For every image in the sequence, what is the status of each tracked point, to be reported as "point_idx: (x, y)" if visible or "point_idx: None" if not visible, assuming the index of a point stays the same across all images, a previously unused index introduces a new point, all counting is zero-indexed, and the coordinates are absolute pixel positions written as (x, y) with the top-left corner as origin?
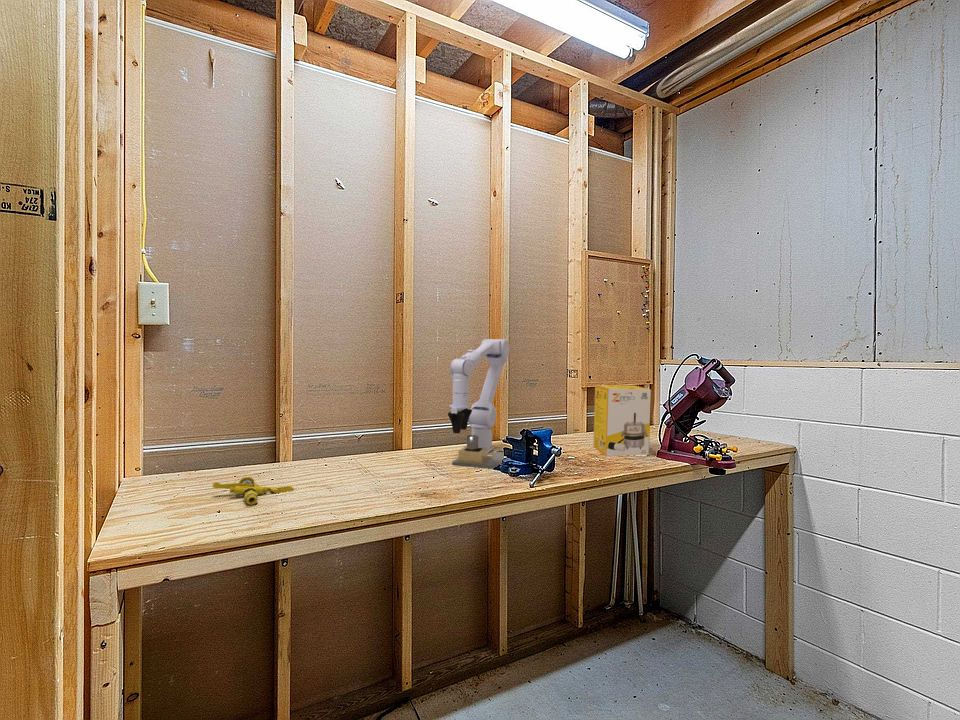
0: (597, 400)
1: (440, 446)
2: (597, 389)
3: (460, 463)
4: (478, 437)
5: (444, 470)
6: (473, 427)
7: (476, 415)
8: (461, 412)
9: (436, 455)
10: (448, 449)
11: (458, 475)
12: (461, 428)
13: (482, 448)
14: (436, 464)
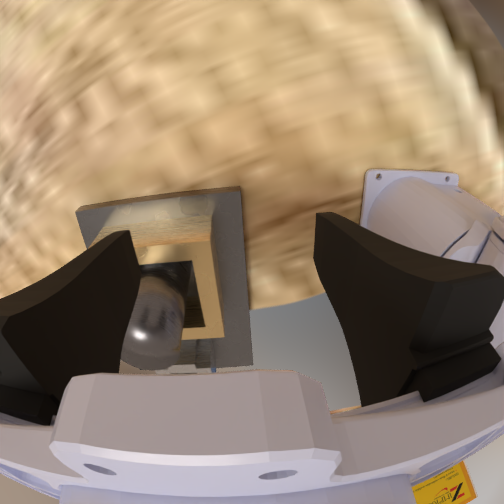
0: (452, 483)
1: (427, 18)
2: (460, 499)
3: (87, 244)
4: (160, 364)
5: (15, 217)
6: (447, 252)
7: (492, 323)
8: (396, 341)
9: (223, 42)
10: (386, 62)
11: (11, 277)
12: (318, 228)
13: (204, 322)
14: (56, 142)
